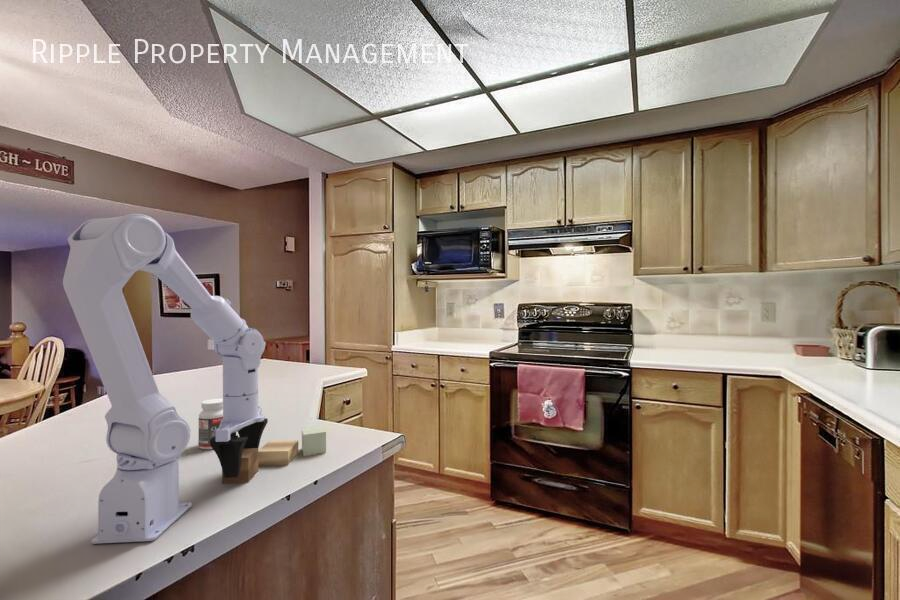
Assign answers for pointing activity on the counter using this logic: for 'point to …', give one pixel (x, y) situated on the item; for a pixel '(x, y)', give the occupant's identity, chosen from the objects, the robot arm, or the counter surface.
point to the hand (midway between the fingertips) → (241, 467)
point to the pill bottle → (209, 421)
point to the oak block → (278, 452)
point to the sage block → (313, 440)
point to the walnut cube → (245, 467)
